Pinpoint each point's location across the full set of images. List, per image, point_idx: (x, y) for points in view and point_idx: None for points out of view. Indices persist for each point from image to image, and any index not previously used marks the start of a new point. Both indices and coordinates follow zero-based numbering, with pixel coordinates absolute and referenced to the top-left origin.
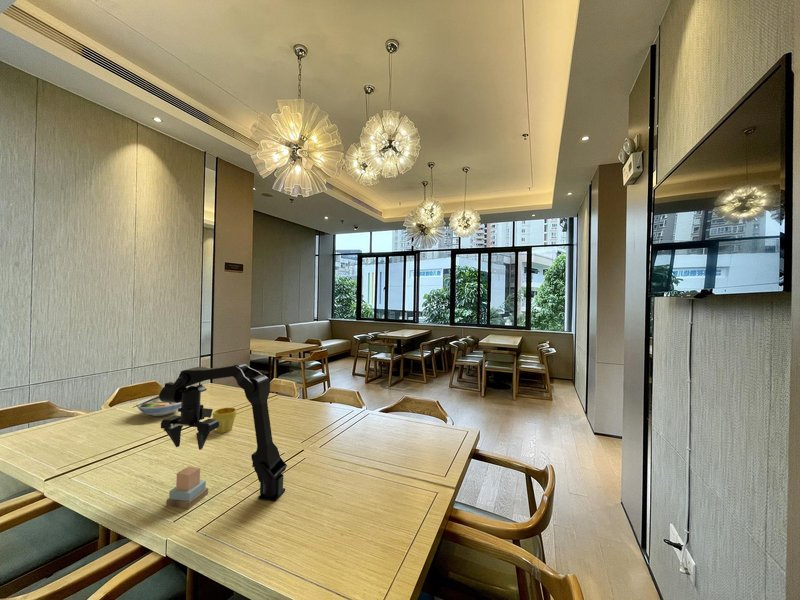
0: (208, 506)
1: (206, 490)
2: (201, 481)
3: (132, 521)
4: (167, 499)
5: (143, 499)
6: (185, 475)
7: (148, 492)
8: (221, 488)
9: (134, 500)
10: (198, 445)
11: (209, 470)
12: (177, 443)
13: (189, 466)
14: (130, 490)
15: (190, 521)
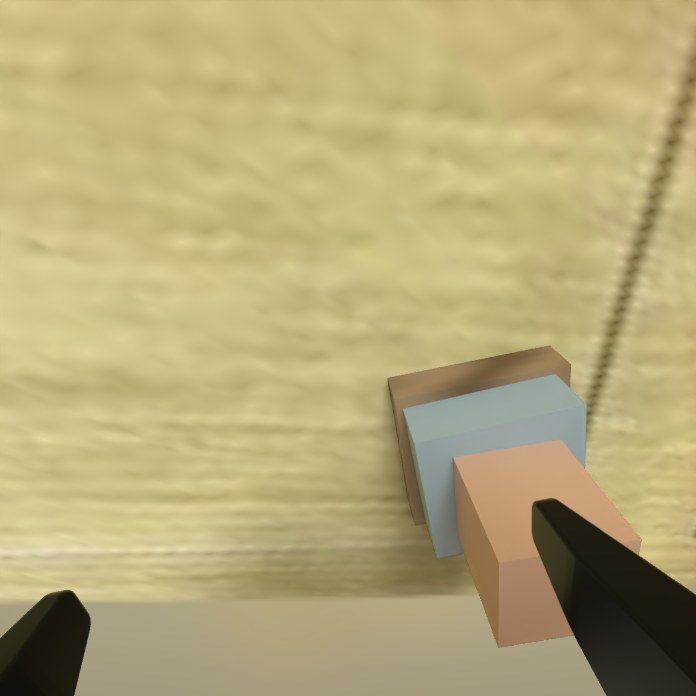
0: (637, 421)
1: (566, 374)
2: (556, 419)
3: (371, 597)
4: (418, 522)
5: (230, 511)
6: None
7: (175, 470)
8: (599, 263)
9: (196, 531)
10: (594, 654)
11: (271, 72)
12: (53, 690)
13: (513, 562)
14: (50, 497)
15: (624, 515)
